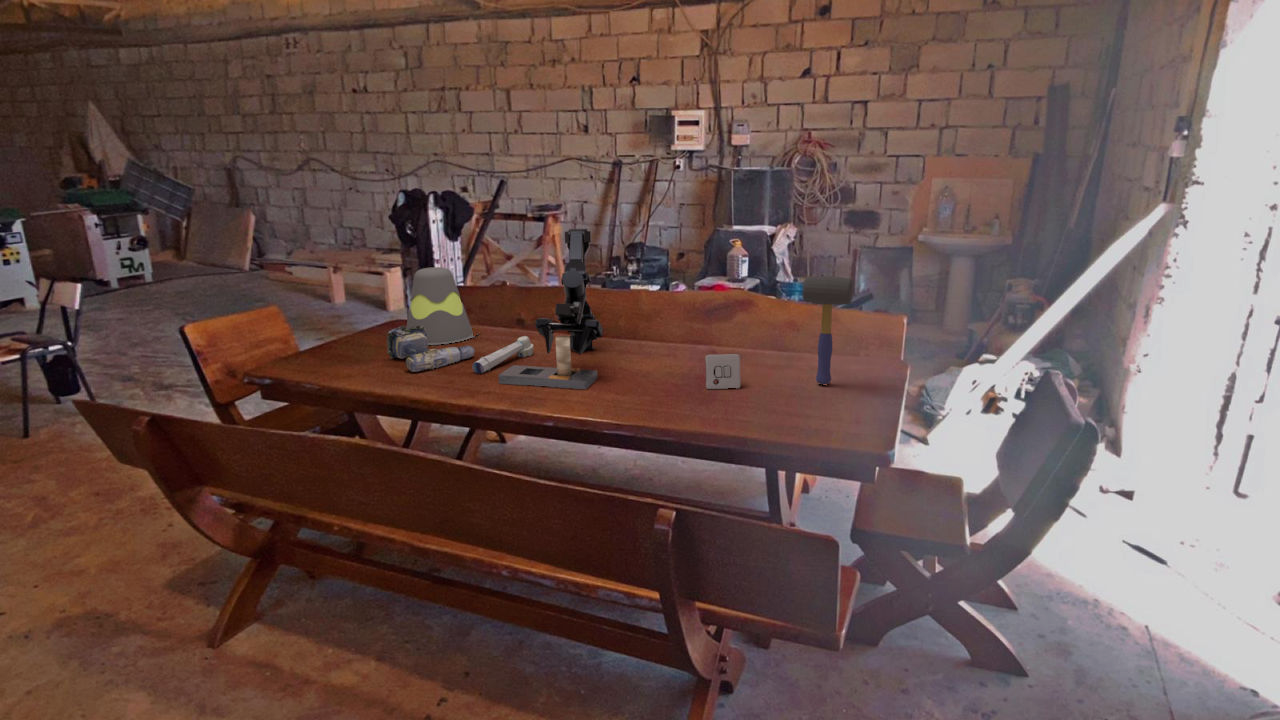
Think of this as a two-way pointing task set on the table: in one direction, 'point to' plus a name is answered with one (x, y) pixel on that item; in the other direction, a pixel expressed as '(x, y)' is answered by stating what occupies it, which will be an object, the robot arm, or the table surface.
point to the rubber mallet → (826, 313)
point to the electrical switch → (722, 371)
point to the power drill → (422, 349)
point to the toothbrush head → (504, 355)
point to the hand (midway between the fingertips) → (563, 353)
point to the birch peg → (563, 356)
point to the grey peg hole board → (547, 377)
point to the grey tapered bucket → (438, 307)
